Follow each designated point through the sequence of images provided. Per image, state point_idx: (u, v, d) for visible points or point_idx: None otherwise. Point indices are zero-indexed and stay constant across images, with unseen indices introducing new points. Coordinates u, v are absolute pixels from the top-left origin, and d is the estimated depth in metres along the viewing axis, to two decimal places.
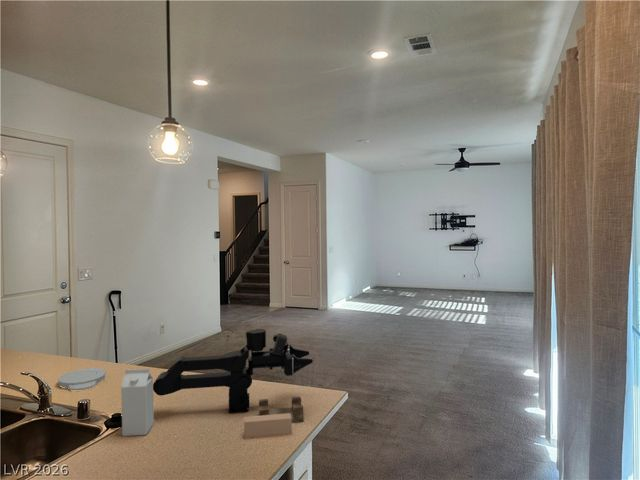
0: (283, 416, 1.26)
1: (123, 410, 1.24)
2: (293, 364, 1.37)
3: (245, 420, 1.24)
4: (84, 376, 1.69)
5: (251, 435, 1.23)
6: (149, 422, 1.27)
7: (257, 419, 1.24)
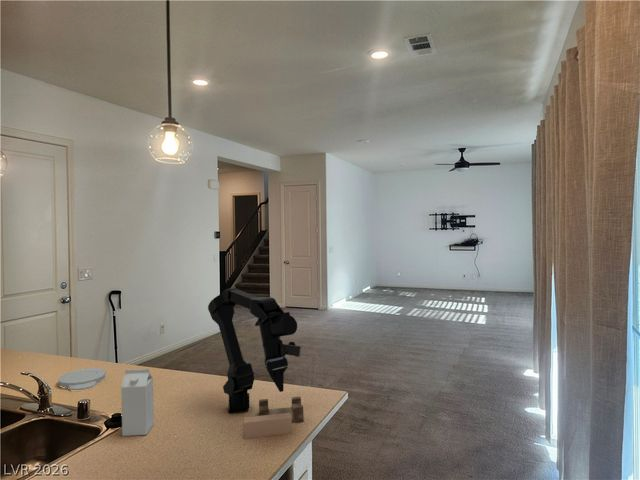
0: (283, 415, 1.27)
1: (123, 410, 1.24)
2: (278, 369, 1.21)
3: (245, 420, 1.23)
4: (84, 376, 1.69)
5: (251, 435, 1.23)
6: (149, 422, 1.27)
7: (257, 419, 1.24)
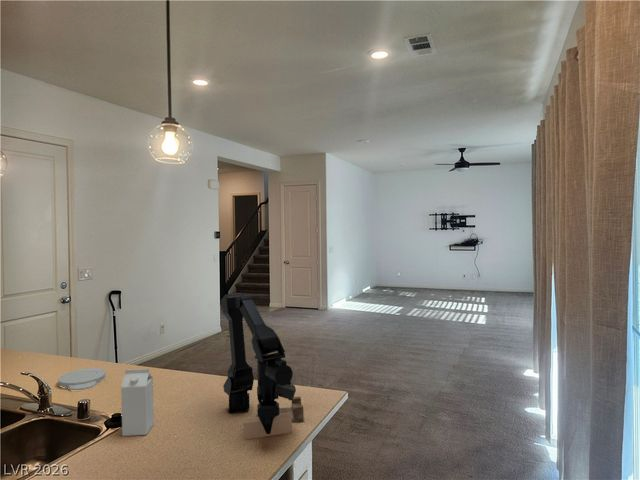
0: (283, 415, 1.27)
1: (123, 410, 1.24)
2: (269, 415, 1.17)
3: (245, 421, 1.23)
4: (84, 376, 1.69)
5: (252, 436, 1.22)
6: (149, 422, 1.27)
7: (257, 419, 1.24)
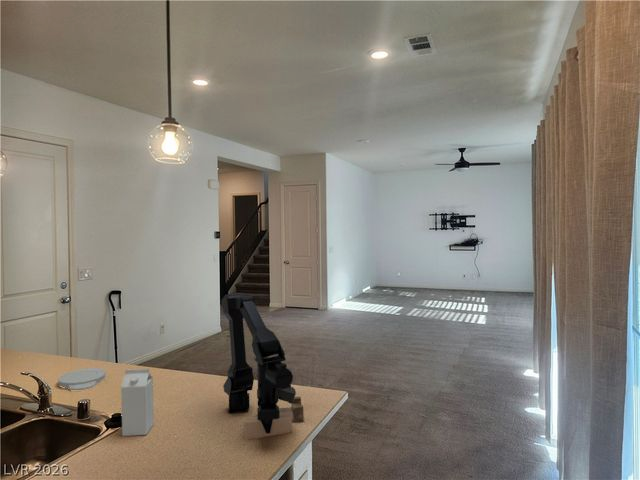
0: (283, 414, 1.27)
1: (123, 410, 1.24)
2: None
3: (246, 421, 1.23)
4: (84, 376, 1.69)
5: (252, 436, 1.22)
6: (149, 422, 1.27)
7: (257, 419, 1.24)
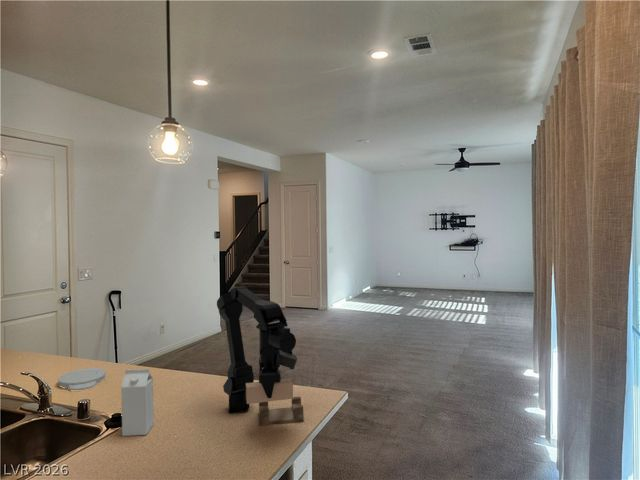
0: (284, 380, 1.28)
1: (123, 410, 1.24)
2: None
3: (247, 386, 1.24)
4: (84, 376, 1.69)
5: (253, 400, 1.24)
6: (149, 422, 1.27)
7: (259, 384, 1.25)
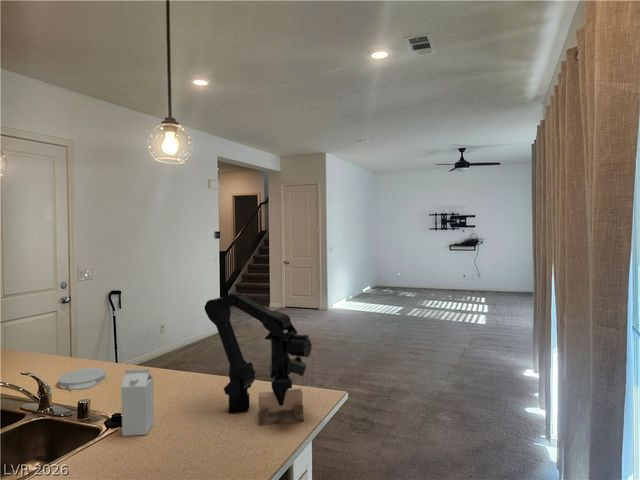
0: (295, 390, 1.37)
1: (123, 410, 1.24)
2: None
3: (260, 395, 1.34)
4: (84, 376, 1.69)
5: None
6: (149, 422, 1.27)
7: (271, 394, 1.35)
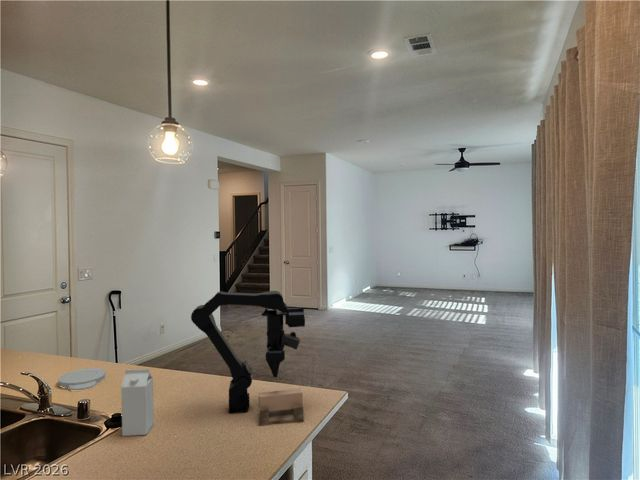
0: (295, 390, 1.37)
1: (123, 410, 1.24)
2: None
3: (260, 395, 1.34)
4: (84, 376, 1.69)
5: None
6: (149, 422, 1.27)
7: (271, 394, 1.35)
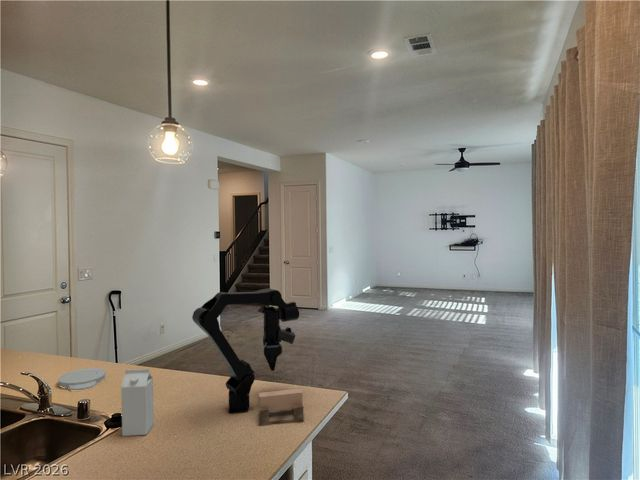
0: (295, 390, 1.37)
1: (123, 410, 1.24)
2: (273, 354, 1.42)
3: (260, 395, 1.34)
4: (84, 376, 1.69)
5: None
6: (149, 422, 1.27)
7: (271, 394, 1.35)
